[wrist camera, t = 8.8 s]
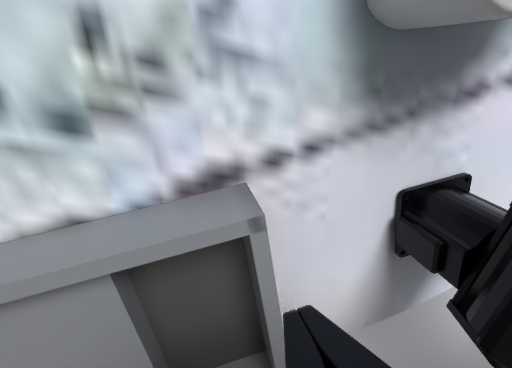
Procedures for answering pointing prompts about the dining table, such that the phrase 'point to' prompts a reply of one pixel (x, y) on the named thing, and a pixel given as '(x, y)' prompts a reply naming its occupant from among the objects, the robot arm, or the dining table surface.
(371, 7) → the lumpy-topped squat cylinder
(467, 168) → the dining table surface
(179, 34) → the dining table surface
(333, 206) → the dining table surface
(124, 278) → the grey shallow rectangular tray
